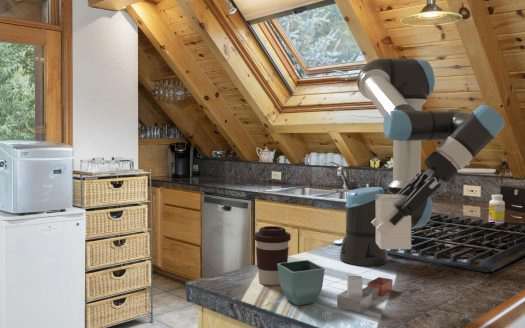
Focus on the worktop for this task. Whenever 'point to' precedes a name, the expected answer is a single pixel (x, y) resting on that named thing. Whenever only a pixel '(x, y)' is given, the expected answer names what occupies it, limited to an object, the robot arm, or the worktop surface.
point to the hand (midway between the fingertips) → (377, 229)
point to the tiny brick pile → (362, 293)
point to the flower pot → (301, 281)
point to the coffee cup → (271, 252)
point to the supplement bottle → (496, 209)
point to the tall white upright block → (402, 231)
